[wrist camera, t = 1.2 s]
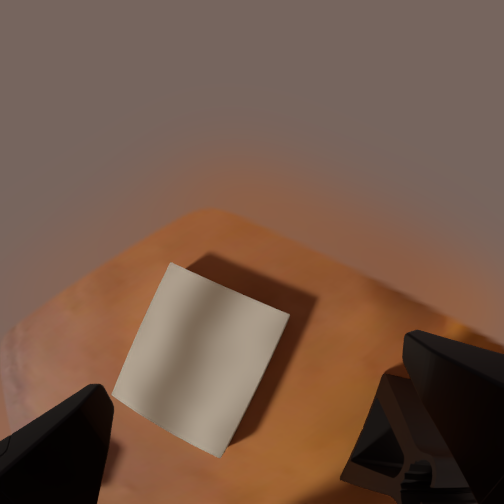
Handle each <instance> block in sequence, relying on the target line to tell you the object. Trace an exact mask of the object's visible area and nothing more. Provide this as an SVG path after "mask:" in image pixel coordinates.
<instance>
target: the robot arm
mask: <svg viewBox="0 0 504 504" xmlns="http://www.w3.org/2000/svg"><path fill="white" fill-rule="evenodd" d="M402 358H403V363H404V365H405V367H406V370H407V372H408V374H409V376H410V378H411V380H412V382H413V385H414V387H415V389H416V391H417V393H418V396H419V398H420V400H421V402H422V403H423V405H424V407H425V409H426V410H427V412H428V414H429V415H430V417H431V419H432V420H433V422H434V424H435V426H436V427H437V429H438V431H439V432H440V434H441V436H442V438H443V439H444V441H445V443H446V445H447V446H448V448H449V450H450V452H451V454H452V455H453V457H454V459H455V461H456V463H457V465H458V466H459V468H460V470H461V472H462V474H463V476H464V478H465V480H466V481H467V483H468V485H469V487H470V489H471V491H472V493H473V495H474V497H475V499H476V501H477V503H478V504H504V354H501V353H497V352H494V351H490V350H486V349H483V348H479V347H476V346H472V345H469V344H465V343H462V342H458V341H455V340H451V339H448V338H444V337H441V336H437V335H434V334H431V333H427V332H424V331H421V330H414V331H411V332H408V333H406V334H405V336H404V344H403V355H402ZM113 415H114V406H113V403H112V401H111V399H110V397H109V395H108V394H107V392H106V390H105V388H104V386H103V385H101V384H89V385H87V386H86V387H84V388H83V389H81V390H80V391H78V392H77V393H75V394H74V395H72V396H71V397H69V398H67V399H66V400H64V401H63V402H61V403H60V404H58V405H57V406H55V407H54V408H52V409H50V410H49V411H47V412H46V413H44V414H43V415H41V416H40V417H38V418H36V419H35V420H33V421H32V422H30V423H29V424H27V425H25V426H24V427H22V428H21V429H19V430H18V431H16V432H14V433H13V434H12V435H10V436H8V437H6V438H5V439H3V440H2V441H0V504H97V501H98V496H99V491H100V486H101V481H102V477H103V472H104V468H105V463H106V459H107V455H108V450H109V444H110V436H111V428H112V421H113Z"/></svg>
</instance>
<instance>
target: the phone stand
mask: <svg viewBox="0 0 504 504" xmlns="http://www.w3.org/2000/svg"><path fill="white" fill-rule="evenodd" d="M340 480H342V481H344V482H347V483H350V484H353V485H356V486H359V487H362V488H366V489H369V490H372V491H376V492H379V493H383V494H386V495H389V496H391V497H392V498H394V500H395V501H396V502H397V504H478V503H477V501H476V499H475V497H474V495H473V493H472V491H471V489H470V487H469V485H468V483H467V481H466V480H465V478H464V476H463V474H462V472H461V470H460V468H459V466H458V465H457V463H456V461H455V459H454V457H453V455H452V454H451V452H450V450H449V448H448V446H447V445H446V443H445V441H444V439H443V438H442V436H441V434H440V432H439V431H438V429H437V427H436V426H435V424H434V422H433V420H432V419H431V417H430V415H429V414H428V412H427V410H426V409H425V407H424V405H423V403H422V402H421V400H420V398H419V396H418V393H417V391H416V389H415V387H414V385H413V382H412V380H411V379H406V378H402V377H398V376H393V375H389V374H385V373H384V374H383V375H382V377H381V380H380V383H379V386H378V389H377V392H376V395H375V397H374V400H373V403H372V405H371V408H370V411H369V413H368V416H367V418H366V421H365V423H364V426H363V430H362V431H361V433H360V435H359V438H358V440H357V442H356V444H355V447H354V449H353V451H352V453H351V455H350V457H349V460H348V462H347V464H346V466H345V468H344V470H343V472H342V474H341V476H340Z"/></svg>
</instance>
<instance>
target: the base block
mask: <svg viewBox="0 0 504 504" xmlns="http://www.w3.org/2000/svg"><path fill="white" fill-rule="evenodd" d="M289 317H290V314H287V313H285V312H282V311H280V310H278V309H275V308H273V307H271V306H268V305H266V304H263V303H261V302H259V301H256V300H254V299H252V298H249V297H247V296H245V295H243V294H240V293H238V292H236V291H233V290H231V289H229V288H227V287H224V286H222V285H220V284H218V283H215V282H213V281H211V280H209V279H206V278H204V277H202V276H200V275H198V274H195V273H193V272H191V271H189V270H187V269H184V268H182V267H180V266H178V265H176V264H174V263H171V262H170V264H169V266H168V268H167V271H166V273H165V275H164V277H163V279H162V281H161V283H160V285H159V287H158V289H157V291H156V293H155V295H154V298H153V300H152V302H151V304H150V306H149V308H148V311H147V313H146V315H145V317H144V319H143V321H142V324H141V326H140V328H139V330H138V333H137V335H136V337H135V340H134V342H133V344H132V346H131V349H130V351H129V353H128V356H127V358H126V361H125V363H124V365H123V368H122V370H121V373H120V375H119V377H118V380H117V382H116V385H115V387H114V390H113V392H112V396H114V397H115V398H116V399H118V400H119V401H121V402H122V403H124V404H125V405H127V406H128V407H130V408H131V409H133V410H134V411H136V412H137V413H139V414H140V415H142V416H143V417H145V418H147V419H148V420H150V421H151V422H153V423H155V424H156V425H158V426H160V427H161V428H163V429H165V430H166V431H168V432H170V433H172V434H173V435H175V436H177V437H179V438H181V439H182V440H184V441H186V442H188V443H190V444H192V445H194V446H196V447H198V448H200V449H202V450H204V451H206V452H208V453H210V454H212V455H214V456H216V457H218V458H221V457H222V455H223V453H224V452H225V450H226V449H227V447H228V445H229V443H230V441H231V440H232V438H233V436H234V434H235V432H236V430H237V428H238V426H239V424H240V422H241V420H242V418H243V416H244V414H245V412H246V410H247V408H248V406H249V404H250V402H251V400H252V398H253V396H254V394H255V392H256V390H257V388H258V386H259V383H260V381H261V379H262V377H263V375H264V373H265V371H266V369H267V367H268V364H269V362H270V360H271V358H272V356H273V354H274V351H275V349H276V347H277V345H278V343H279V340H280V338H281V336H282V334H283V331H284V329H285V327H286V325H287V322H288V320H289Z"/></svg>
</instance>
